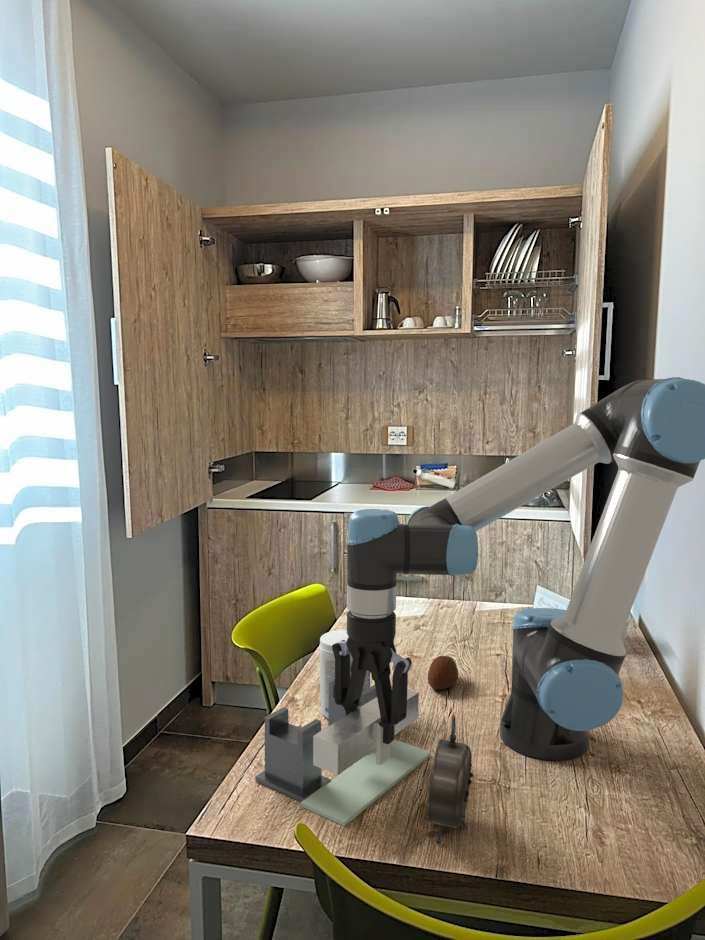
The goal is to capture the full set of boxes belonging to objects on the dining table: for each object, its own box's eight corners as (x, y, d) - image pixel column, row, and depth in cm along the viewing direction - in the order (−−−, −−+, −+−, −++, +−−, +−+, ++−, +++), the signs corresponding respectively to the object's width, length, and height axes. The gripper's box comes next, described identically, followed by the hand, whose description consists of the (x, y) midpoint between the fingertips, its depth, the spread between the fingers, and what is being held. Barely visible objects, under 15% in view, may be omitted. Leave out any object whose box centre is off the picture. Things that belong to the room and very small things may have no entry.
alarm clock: (438, 801, 105) (440, 697, 103) (474, 807, 103) (477, 702, 102) (424, 847, 95) (427, 732, 93) (465, 854, 93) (468, 738, 91)
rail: (418, 718, 118) (418, 692, 117) (337, 775, 100) (337, 745, 99) (395, 710, 120) (396, 685, 120) (313, 765, 103) (313, 735, 102)
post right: (388, 743, 122) (388, 685, 121) (366, 758, 117) (367, 698, 116) (342, 726, 128) (342, 671, 127) (319, 740, 123) (319, 683, 122)
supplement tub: (380, 716, 132) (380, 640, 131) (337, 729, 127) (337, 650, 125) (351, 697, 140) (352, 625, 139) (310, 708, 135) (310, 634, 133)
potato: (463, 677, 150) (463, 648, 150) (452, 699, 140) (453, 668, 139) (435, 673, 152) (435, 644, 152) (422, 695, 142) (423, 664, 141)
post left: (331, 784, 109) (331, 720, 108) (304, 803, 104) (304, 736, 103) (282, 763, 115) (282, 703, 114) (255, 781, 110) (254, 717, 109)
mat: (430, 755, 118) (430, 752, 118) (344, 826, 99) (344, 822, 99) (390, 741, 123) (390, 737, 123) (300, 806, 104) (300, 802, 104)
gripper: (433, 616, 106) (430, 763, 108) (340, 594, 116) (339, 729, 119) (407, 629, 100) (403, 785, 102) (311, 605, 110) (310, 747, 113)
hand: (369, 755), depth 110 cm, fingers closed on rail, 4 cm apart
